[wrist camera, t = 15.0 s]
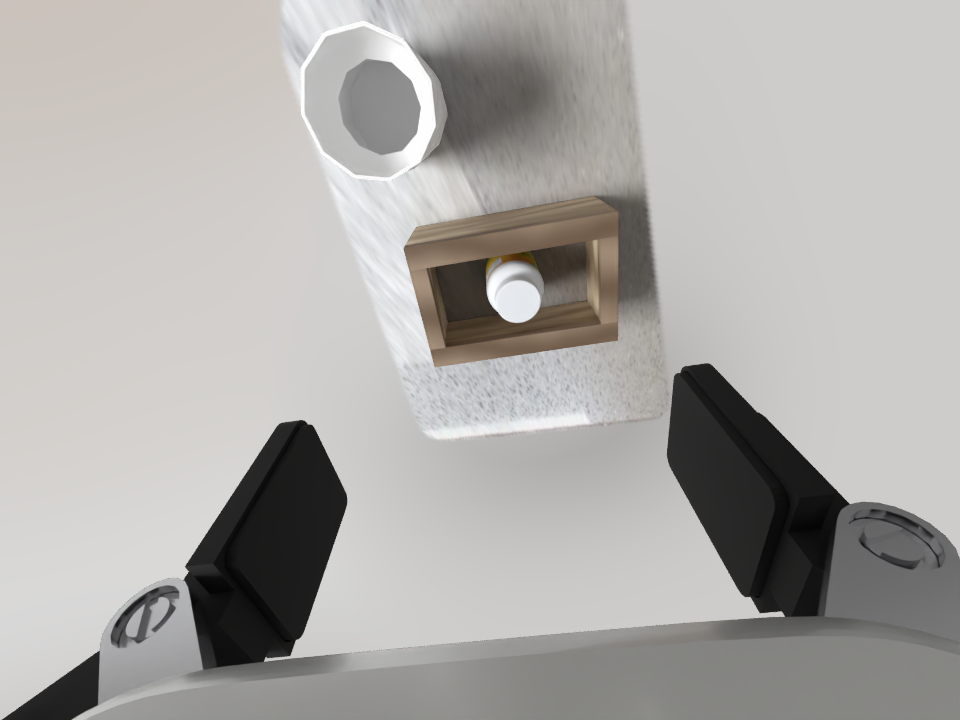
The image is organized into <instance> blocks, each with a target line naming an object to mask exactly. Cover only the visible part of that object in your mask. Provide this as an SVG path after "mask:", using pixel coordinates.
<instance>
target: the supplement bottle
mask: <svg viewBox="0 0 960 720" xmlns="http://www.w3.org/2000/svg"><path fill="white" fill-rule="evenodd" d="M486 288H487V296H488V300H489V302H490V304H491V305H492V307H493V308H494V309H495V310H496V311H497V312H498V313H499V314H500V316H501V317H503V318H504V319H505V320H507V321H509V322H514V323H521V322H525V321H527V320H529V319H531V318H532V317H533V316H535V315H536V313H537V312H538V310H539V308H540V304H541V300H542V298H543V294H544V282H543V279H542V276H541V274H540V271H539V269H538V267H537V264H536V261H535V259H534V257H533V255H532V254H531V253H530V251H527V252H521V253H515V254H509V255H503V256H497V257H491V258H488V260H487V264H486Z"/></svg>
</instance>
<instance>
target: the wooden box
mask: <svg viewBox="0 0 960 720" xmlns="http://www.w3.org/2000/svg"><path fill="white" fill-rule="evenodd" d="M618 220H619V211H617V210H615V209H614V208H612V207H611V206H609V205H608V204H606V203H604V202H603V201H601V200H600V199H598V198H597V197H595V196H591V197H585V198H579V199H574V200H568V201H562V202H557V203H551V204H545V205H540V206H534V207H528V208H522V209H517V210H511V211H505V212H500V213H494V214H488V215H483V216H477V217H471V218H466V219H460V220H454V221H449V222H443V223H437V224H431V225H426V226H420V227H416V228H415V230H414V231H413V233H412V235H411V237H410V238H409V240H408V242H407V243H406V245H405V247H404V252H405V256H406V260H407V263H408V267H409V271H410V275H411V279H412V282H413V286H414V290H415V294H416V298H417V301H418V305H419V309H420V313H421V317H422V320H423V324H424V328H425V332H426V336H427V339H428V343H429V347H430V351H431V355H432V358H433V362H434V366H435V367H440V366H447V365H453V364H460V363H467V362H474V361H481V360H487V359H494V358H501V357H508V356H515V355H522V354H528V353H535V352H542V351H549V350H556V349H562V348H569V347H576V346H583V345H590V344H597V343H603V342H610V341H617V340H618ZM580 242H585V245H586V274H587V301H582V302H576V303H569V304H563V305H556V306H550V307H544V308H539V310H538V312H537V313H536V315H535V316H533V317H532V318H531V319H529V320H527V321H525V322H521V323H514V322H509V321H507V320H505V319H504V318H503V317H501V316H500V314H499V315H492V316H486V317H479V318H473V319H466V320H460V321H454V322H448V321H447V317H446V313H445V308H444V304H443V300H442V295H441V291H440V286H439V282H438V278H437V273H436V269H435V267H437V266H443V265H449V264H455V263H461V262H467V261H473V260H479V259H485V258H491V257H497V256H503V255H509V254H515V253H521V252H527V251H532V250H538V249H544V248H550V247H556V246H562V245H568V244H574V243H580Z"/></svg>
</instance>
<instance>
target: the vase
mask: <svg viewBox="0 0 960 720" xmlns="http://www.w3.org/2000/svg"><path fill="white" fill-rule="evenodd" d="M301 115H302V117H303V119H304V121H305V123H306V125H307V127H308V129H309V131H310V132H311V134H312V136H313V138H314V140H315V142H316V144H317V146H318V148H319V150H320V152H321V154H322V155H323V156H325V157H326V158H327V159H329V160H330V161H332V162H333V163H334V164H336V165H337V166H338V167H340V168H341V169H342V170H344V171H345V172H346V173H348V174H349V175H351V176H352V177H353V178H359V179H370V180H382V181H391V180H393V179H394V178H396V177H398V176H399V175H401V174H402V173H404V172H406V171H409V170H411V169H414V168H415V167H417V166H418V165H419V163H420V162H421V161H423V160H425V159H426V158H427V157H428V156H429V155H430V153H431V151H433V150H434V149H435V148H436V147H437V146H438V145H439V144H440V141H441V138H442V133H443V130H444V126H445V123H446V120H447V116H448V114H447V108H446V104H445V100H444V96H443V91H442V87H441V82H440V81H439V79H438V78H437V76H436V75H435V73H434V72H433V70H432V69H431V68H430V67H429V66H428V64H427V63H426V62H425V61H424V60H423V59H422V58H421V57H420V56H419V55H418V54H417V52H416V51H415V50H414V49H413V48H412V47H411V46H410V45H409V44H408V43H407V42H406V41H405V40H404V39H403V38H400V37H398V36H396V35H394V34H392V33H389V32H387V31H385V30H383V29H381V28H379V27H377V26H375V25H372V24H370V23H368V22H366V21H360V22H356V23H353V24H349V25H346V26H342V27H339V28H336V29H332V30H329V31H325V32H323V34H322V35H321V37H320V38H319V40H318V42H317V43H316V45H315V46H314V48H313V49H312V51H311V53H310V54H309V56H308V57H307V59H306V60H305V62H304V64H303V65H302V67H301Z"/></svg>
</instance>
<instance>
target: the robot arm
mask: <svg viewBox="0 0 960 720" xmlns="http://www.w3.org/2000/svg"><path fill="white" fill-rule="evenodd" d="M667 458H668V462H669V465H670V467H671V470H672V471H673V473H674V475H675V477H676V479H677V480H678V482H679V484H680V486H681V488H682V489H683V491H684V493H685V495H686V497H687V498H688V500H689V502H690V504H691V506H692V507H693V509H694V511H695V513H696V514H697V516H698V518H699V520H700V522H701V524H702V525H703V527H704V529H705V531H706V532H707V534H708V536H709V538H710V539H711V541H712V543H713V545H714V547H715V549H716V550H717V552H718V554H719V556H720V558H721V559H722V561H723V563H724V565H725V566H726V568H727V570H728V572H729V574H730V576H731V577H732V579H733V581H734V583H735V585H736V586H737V588H738V590H739V591H740V593H741V594H742V595H743V596H745V597H751V598H752V600H753V602H754V604H755V605H756V607H757V609H758V611H759V612H760V613H768V612H778V611H782V612H783V614H784V615H785V617H768V618H754V619H738V620H723V621H709V622H694V623H680V624H669V625H656V626H645V627H633V628H621V629H610V630H598V631H587V632H576V633H563V634H551V635H540V636H529V637H518V638H507V639H496V640H484V641H473V642H463V643H452V644H441V645H430V646H419V647H408V648H398V649H387V650H377V651H367V652H357V653H346V654H336V655H325V656H315V657H304V658H294V659H285V660H276V661H268V662H264V660H265V657H267V658H274V657H285V656H290V655H291V652H292V649H293V646H294V644H295V641H296V640H297V639H299V638H300V637H301V636H302V634H303V632H304V630H305V627H306V624H307V621H308V619H309V616H310V613H311V610H312V607H313V603H314V601H315V598H316V595H317V592H318V589H319V586H320V583H321V580H322V577H323V574H324V571H325V569H326V565H327V562H328V560H329V557H330V554H331V551H332V548H333V545H334V542H335V539H336V536H337V533H338V530H339V527H340V524H341V521H342V518H343V516H344V513H345V509H346V506H347V495H346V492H345V490H344V488H343V486H342V484H341V482H340V480H339V478H338V475H337V473H336V471H335V469H334V467H333V465H332V463H331V461H330V459H329V457H328V455H327V453H326V451H325V449H324V447H323V445H322V443H321V441H320V438H319V436H318V434H317V432H316V430H315V428H314V427H313V426H312V425H308V424H307V423H306V422H305V421H303V420H299V421H292V422H285V423H281V424H279V425H278V426H277V427H276V429H275V430H274V432H273V433H272V435H271V436H270V438H269V440H268V441H267V443H266V444H265V446H264V447H263V449H262V450H261V452H260V453H259V455H258V456H257V458H256V459H255V461H254V462H253V464H252V465H251V467H250V469H249V470H248V472H247V473H246V475H245V476H244V478H243V479H242V481H241V482H240V484H239V485H238V487H237V488H236V490H235V491H234V493H233V494H232V496H231V497H230V499H229V501H228V502H227V504H226V505H225V507H224V508H223V510H222V511H221V513H220V514H219V516H218V517H217V519H216V520H215V522H214V523H213V525H212V526H211V528H210V529H209V531H208V533H207V534H206V535H205V537H204V538H203V540H202V542H201V543H200V545H199V546H198V548H197V549H196V551H195V552H194V554H193V555H192V557H191V558H190V560H189V561H188V563H187V564H186V566H185V567H186V569H187V570H188V571H189V572H188V574H187V576H186V577H185V579H184V580H181V579H179V578H168V579H164V580H161V581H159V582H156V583H154V584H152V585H150V586H148V587H146V588H144V589H143V590H141V591H140V592H139V593H137V594H136V595H134V596H133V597H132V598H131V599H129V600H128V601H127V602H126V603H125V604H124V605H123V606H122V607H121V608H120V609H119V610H118V611H117V613H116V614H115V615H114V616H113V618H112V619H111V620H110V622H109V623H108V625H107V627H106V629H105V631H104V633H103V635H102V639H101V643H100V651H99V652H97V653H95V654H94V655H93V656H91V657H90V658H88V659H87V660H86V661H84V662H83V663H81V664H80V665H79V666H77V667H76V668H74V669H73V670H72V671H70V672H69V673H67V674H66V675H64V676H63V677H62V678H60V679H59V680H57V681H56V682H55V683H53V684H52V685H50V686H49V687H47V688H46V689H45V690H43V691H42V692H40V693H39V694H38V695H36V696H35V697H33V698H32V699H30V700H29V701H28V702H26V703H25V704H23V705H22V706H21V707H19V708H18V709H16V710H15V711H14V712H12V713H11V714H9V715H8V716H7V717H5V718H4V719H2V720H960V558H959V556H958V553H957V550H956V548H955V547H954V546H953V545H952V544H951V542H950V541H949V540H948V538H947V537H946V536H945V535H944V534H943V533H941V532H940V531H939V530H938V529H936V528H935V527H934V526H932V525H931V524H930V523H928V522H926V521H925V520H923V519H921V518H919V517H917V516H916V515H914V514H912V513H909V512H907V511H904V510H902V509H899V508H897V507H894V506H889V505H885V504H881V503H874V502H859V503H854V504H849V503H848V502H847V501H846V500H845V499H844V498H843V497H842V496H841V495H840V494H839V493H838V491H837V490H836V489H834V487H833V486H832V485H831V484H829V482H828V481H827V480H826V479H825V478H824V477H823V476H822V475H821V474H820V473H819V472H818V471H817V470H816V469H815V468H814V467H813V466H812V465H811V464H810V463H809V462H808V461H807V460H806V459H805V458H804V457H803V455H801V453H800V452H799V451H798V450H797V449H796V448H795V447H794V446H793V445H792V444H791V443H790V442H789V441H788V440H787V439H786V438H785V437H784V436H783V435H782V434H781V433H780V432H779V431H778V430H777V429H776V428H775V427H774V426H773V425H772V424H771V423H770V422H769V421H768V419H767V418H766V417H764V416H763V415H762V414H760V413H757V412H756V411H755V410H754V409H753V408H752V406H751V405H750V404H749V403H748V402H747V401H746V400H745V399H744V398H743V397H742V396H741V395H740V394H739V393H738V392H737V391H736V390H735V389H734V388H733V387H732V386H731V385H730V384H729V383H728V382H727V381H726V379H725V378H724V377H723V376H722V375H721V374H720V373H719V372H718V371H717V370H716V369H715V368H714V367H713V366H712V365H711V364H708V363H707V364H699V365H692V366H685V367H683V368H682V370H681V373H677V374H676V375H675V376H674V383H673V394H672V405H671V416H670V428H669V437H668V448H667Z"/></svg>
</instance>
